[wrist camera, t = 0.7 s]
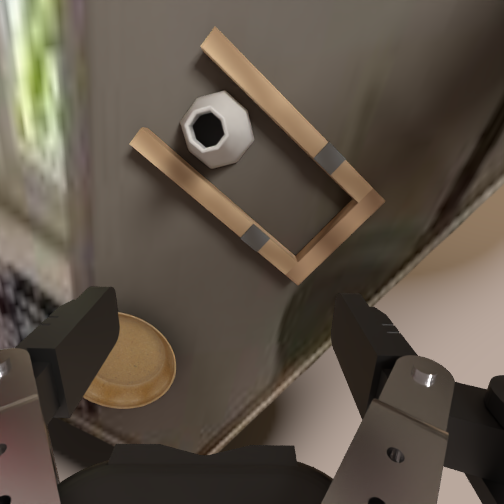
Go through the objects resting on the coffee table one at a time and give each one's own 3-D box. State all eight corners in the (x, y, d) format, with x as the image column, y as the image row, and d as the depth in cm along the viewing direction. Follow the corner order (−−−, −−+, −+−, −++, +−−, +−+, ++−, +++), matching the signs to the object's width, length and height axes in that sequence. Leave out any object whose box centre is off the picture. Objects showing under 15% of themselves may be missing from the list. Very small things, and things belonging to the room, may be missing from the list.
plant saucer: (202, 344, 42) (199, 358, 40) (139, 410, 46) (133, 426, 43) (105, 278, 38) (95, 288, 36) (45, 355, 42) (32, 369, 40)
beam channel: (217, 32, 30) (214, 24, 28) (378, 197, 35) (387, 201, 33) (135, 143, 33) (128, 144, 31) (295, 278, 38) (298, 286, 36)
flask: (208, 180, 34) (194, 198, 25) (167, 119, 32) (135, 113, 23) (266, 142, 33) (274, 146, 24) (227, 76, 31) (219, 51, 22)
